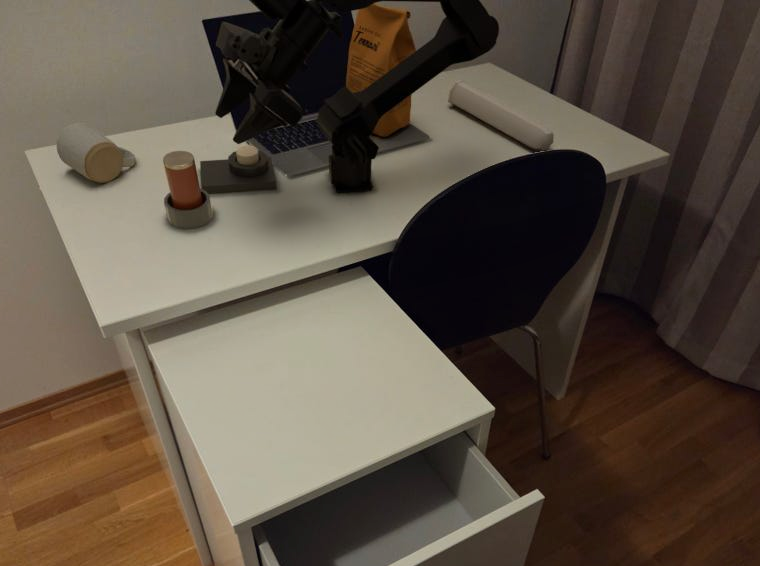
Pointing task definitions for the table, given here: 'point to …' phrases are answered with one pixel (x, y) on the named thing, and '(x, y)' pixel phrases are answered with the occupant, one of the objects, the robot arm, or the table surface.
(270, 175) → the plate with ring holder
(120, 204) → the table surface
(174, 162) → the orange metal cylinder
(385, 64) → the coffee package
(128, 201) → the table surface
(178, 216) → the capsule holder
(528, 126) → the tube
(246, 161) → the release button
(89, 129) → the ceramic mug
